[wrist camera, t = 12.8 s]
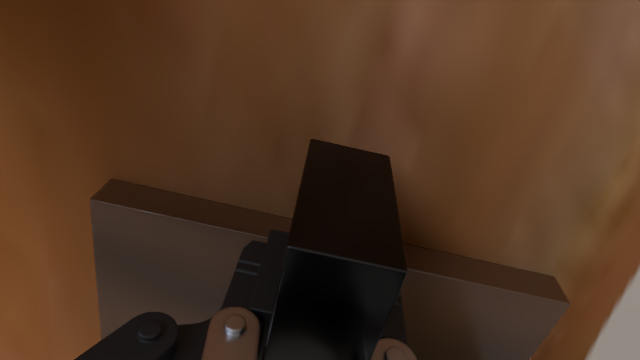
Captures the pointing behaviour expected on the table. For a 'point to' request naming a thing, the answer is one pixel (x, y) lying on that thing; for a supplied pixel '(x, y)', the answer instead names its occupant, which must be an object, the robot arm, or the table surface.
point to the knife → (338, 259)
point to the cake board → (246, 225)
